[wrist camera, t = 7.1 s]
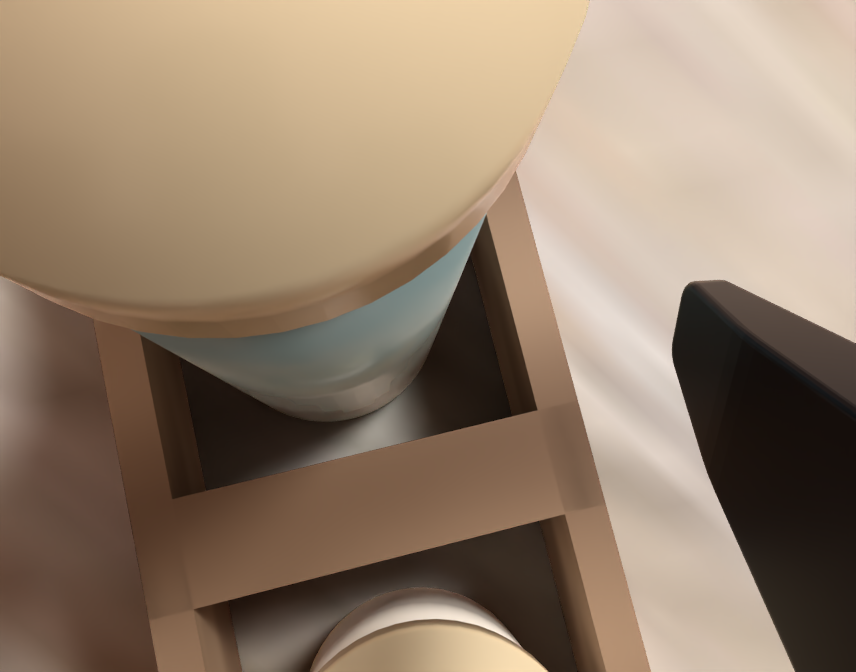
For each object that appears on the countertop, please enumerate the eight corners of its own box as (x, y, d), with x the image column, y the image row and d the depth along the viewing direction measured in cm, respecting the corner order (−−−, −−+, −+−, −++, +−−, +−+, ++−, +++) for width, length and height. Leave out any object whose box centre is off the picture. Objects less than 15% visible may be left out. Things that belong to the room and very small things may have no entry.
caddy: (665, 863, 17) (724, 945, 14) (263, 984, 16) (237, 1096, 14) (463, 96, 20) (478, 31, 17) (105, 170, 19) (54, 115, 16)
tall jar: (479, 363, 19) (754, 72, 5) (272, 466, 18) (-73, 462, 4) (379, 168, 19) (376, -572, 6) (175, 261, 19) (-396, -315, 5)
